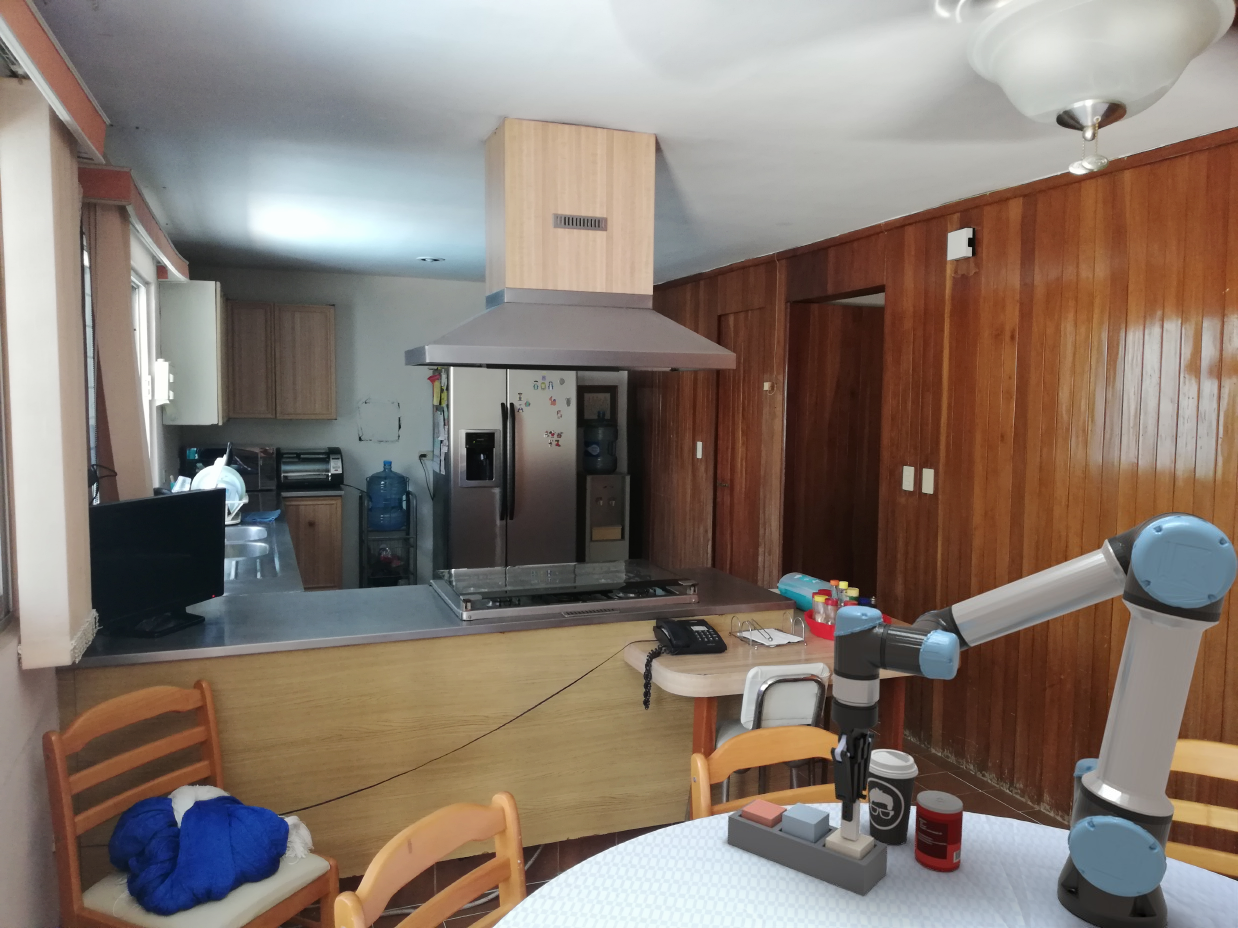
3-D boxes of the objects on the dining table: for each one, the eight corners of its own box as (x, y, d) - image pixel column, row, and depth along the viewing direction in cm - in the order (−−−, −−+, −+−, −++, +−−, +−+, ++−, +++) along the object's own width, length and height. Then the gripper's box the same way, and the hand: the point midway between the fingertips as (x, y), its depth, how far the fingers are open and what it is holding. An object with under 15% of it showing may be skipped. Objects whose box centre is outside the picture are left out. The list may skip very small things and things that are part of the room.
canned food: (952, 851, 150) (955, 791, 150) (966, 874, 142) (969, 811, 142) (909, 848, 151) (911, 788, 151) (920, 870, 143) (923, 807, 143)
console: (886, 873, 142) (887, 844, 142) (863, 895, 135) (865, 865, 135) (753, 825, 158) (754, 799, 158) (727, 843, 151) (728, 815, 151)
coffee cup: (922, 849, 151) (926, 768, 150) (869, 847, 151) (872, 766, 150) (905, 825, 160) (908, 748, 160) (855, 823, 160) (858, 746, 160)
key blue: (828, 834, 147) (829, 812, 147) (813, 847, 142) (814, 824, 142) (797, 824, 151) (798, 802, 150) (781, 835, 146) (782, 813, 146)
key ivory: (873, 860, 142) (874, 837, 142) (858, 874, 137) (859, 850, 137) (840, 848, 145) (840, 826, 145) (824, 861, 141) (825, 838, 141)
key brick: (786, 829, 152) (787, 808, 152) (770, 841, 147) (771, 819, 147) (757, 819, 156) (758, 798, 156) (740, 830, 151) (741, 808, 151)
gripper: (850, 686, 148) (844, 816, 149) (817, 703, 138) (811, 843, 138) (891, 695, 143) (886, 830, 144) (860, 713, 133) (854, 858, 134)
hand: (849, 836), depth 141 cm, fingers closed
